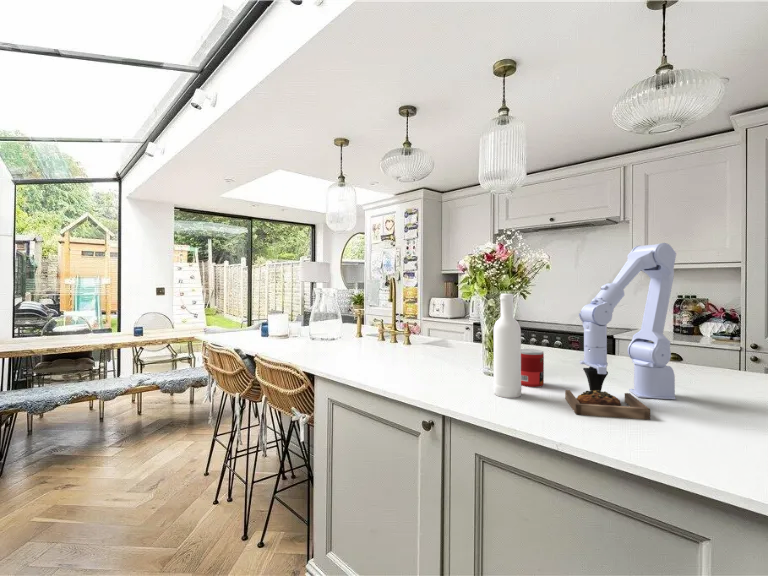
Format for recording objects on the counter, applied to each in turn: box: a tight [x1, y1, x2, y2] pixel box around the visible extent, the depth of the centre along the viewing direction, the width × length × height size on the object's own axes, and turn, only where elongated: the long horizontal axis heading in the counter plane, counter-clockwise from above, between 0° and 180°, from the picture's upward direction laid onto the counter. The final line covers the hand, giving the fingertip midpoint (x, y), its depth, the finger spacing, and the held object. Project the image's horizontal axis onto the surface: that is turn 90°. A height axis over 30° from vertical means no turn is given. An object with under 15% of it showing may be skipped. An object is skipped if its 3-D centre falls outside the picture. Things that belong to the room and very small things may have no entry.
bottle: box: [493, 293, 522, 399], centre depth 118 cm, size 8×8×30 cm
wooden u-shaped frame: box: [564, 389, 651, 421], centre depth 105 cm, size 16×14×2 cm
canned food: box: [521, 348, 545, 388], centre depth 130 cm, size 8×8×11 cm
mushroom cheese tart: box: [576, 390, 622, 406], centre depth 108 cm, size 11×11×5 cm
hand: (595, 394), depth 113 cm, fingers closed
